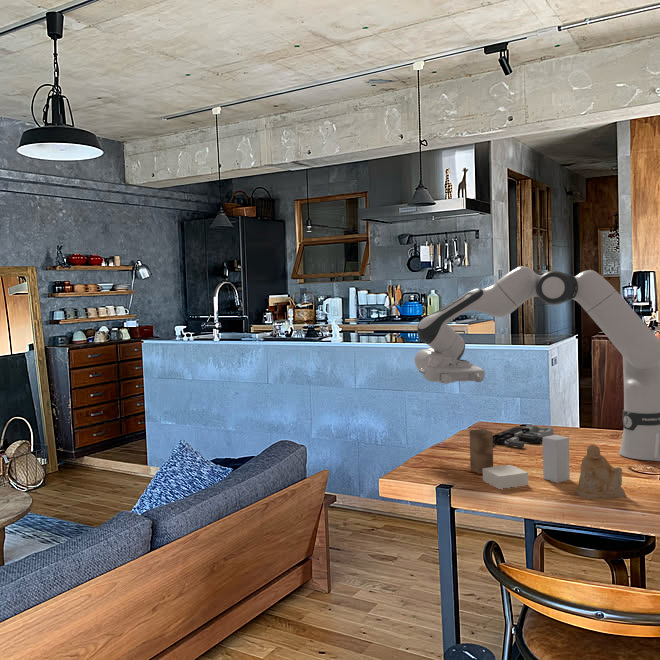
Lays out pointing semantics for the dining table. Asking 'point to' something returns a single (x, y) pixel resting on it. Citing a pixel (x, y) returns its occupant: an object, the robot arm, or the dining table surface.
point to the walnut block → (481, 449)
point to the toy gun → (522, 435)
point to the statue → (599, 477)
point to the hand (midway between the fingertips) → (466, 379)
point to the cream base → (505, 476)
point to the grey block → (556, 458)
